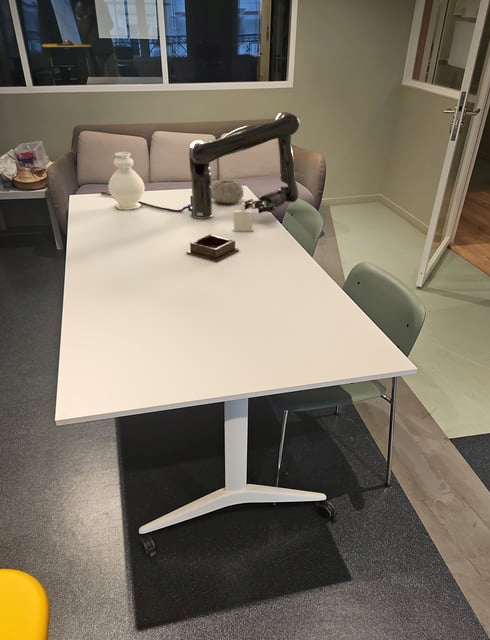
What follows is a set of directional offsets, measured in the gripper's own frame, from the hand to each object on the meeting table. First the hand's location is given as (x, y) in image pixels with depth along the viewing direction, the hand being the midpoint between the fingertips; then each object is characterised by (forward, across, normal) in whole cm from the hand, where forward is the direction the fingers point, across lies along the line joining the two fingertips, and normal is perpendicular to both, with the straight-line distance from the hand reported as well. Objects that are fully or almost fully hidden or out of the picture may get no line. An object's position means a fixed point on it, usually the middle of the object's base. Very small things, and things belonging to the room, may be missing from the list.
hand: (251, 209), depth 227 cm
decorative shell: (-28, -34, +8) cm, 45 cm away
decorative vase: (+9, -69, +8) cm, 70 cm away
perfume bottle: (+6, 0, +8) cm, 10 cm away
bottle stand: (+36, +6, +8) cm, 38 cm away
